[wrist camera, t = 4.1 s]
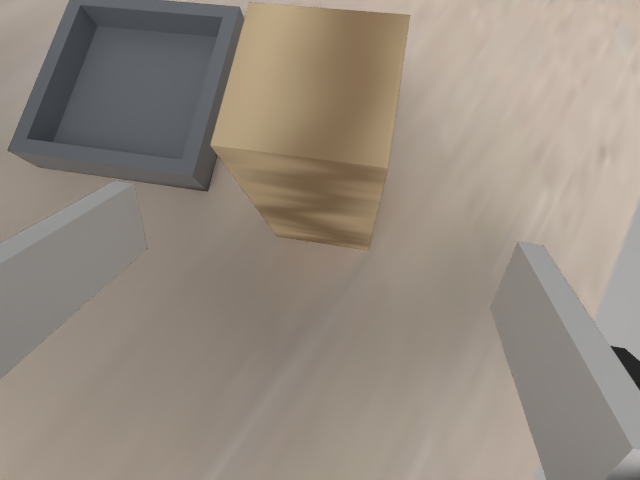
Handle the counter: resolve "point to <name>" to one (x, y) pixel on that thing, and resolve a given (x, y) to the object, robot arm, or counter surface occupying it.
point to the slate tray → (132, 91)
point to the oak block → (313, 117)
